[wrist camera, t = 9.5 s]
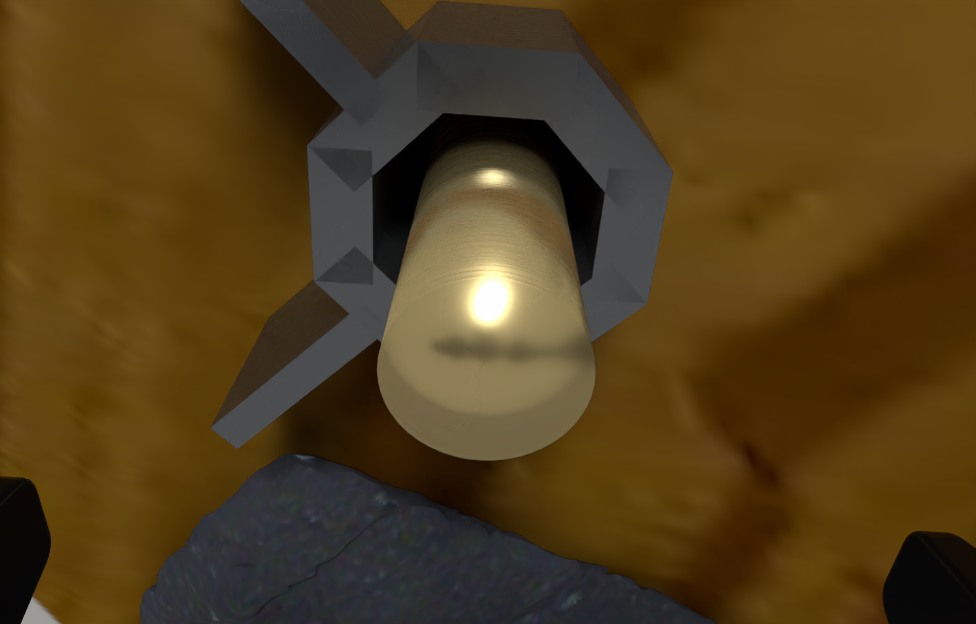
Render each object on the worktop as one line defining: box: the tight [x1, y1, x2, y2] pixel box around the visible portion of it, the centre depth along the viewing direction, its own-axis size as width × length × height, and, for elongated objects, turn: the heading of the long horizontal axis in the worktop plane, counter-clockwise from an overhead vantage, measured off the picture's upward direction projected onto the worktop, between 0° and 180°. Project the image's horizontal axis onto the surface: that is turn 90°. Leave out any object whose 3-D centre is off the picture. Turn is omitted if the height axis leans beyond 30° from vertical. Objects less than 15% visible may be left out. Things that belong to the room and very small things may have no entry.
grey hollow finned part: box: [210, 0, 673, 449], centre depth 17 cm, size 11×11×5 cm
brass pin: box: [377, 113, 596, 460], centre depth 15 cm, size 3×3×10 cm
